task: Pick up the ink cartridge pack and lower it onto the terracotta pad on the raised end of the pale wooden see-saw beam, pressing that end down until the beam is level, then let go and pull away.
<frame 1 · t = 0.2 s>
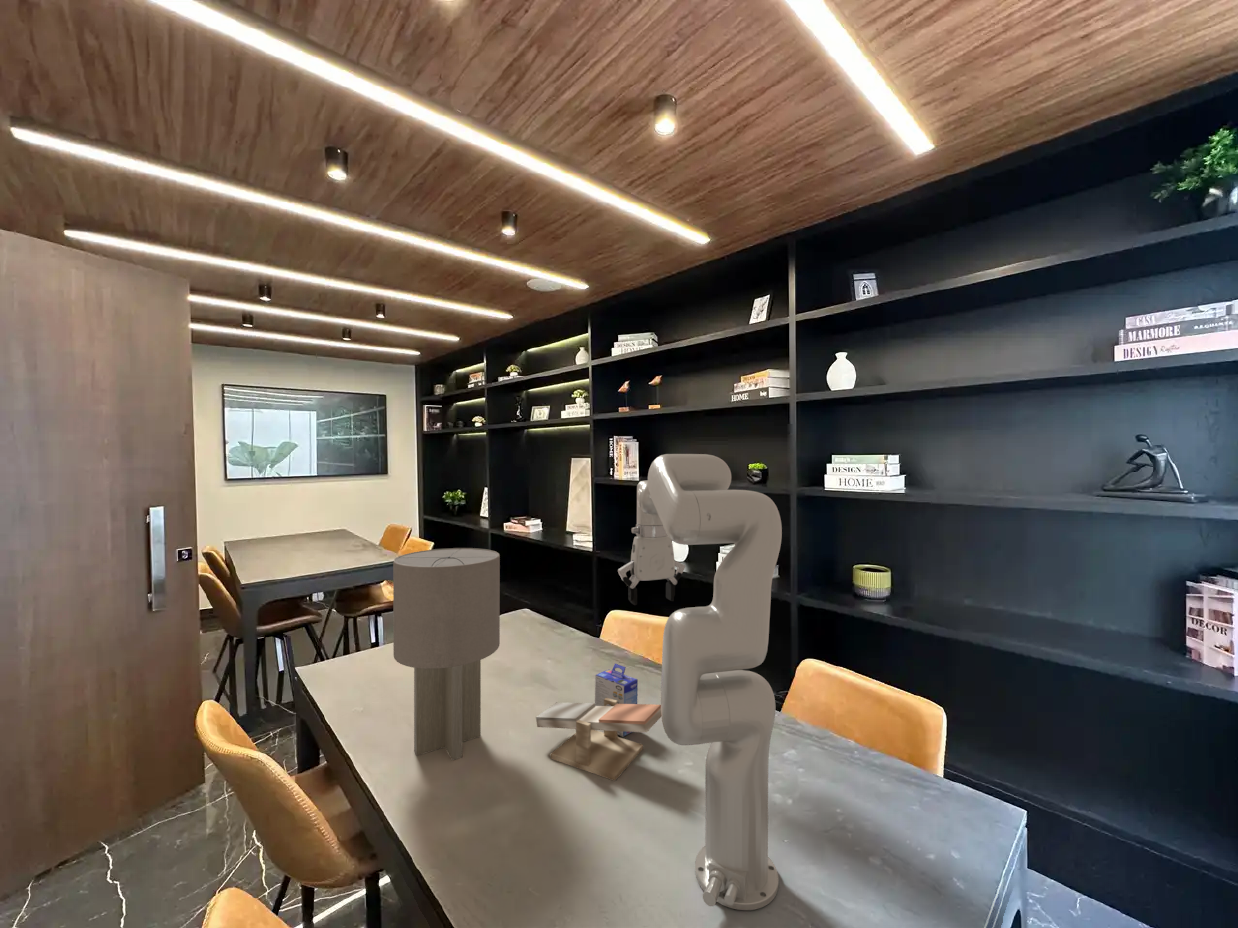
hand: (651, 601, 123), 30 cm above the table, tool pointing down, fingers open, 9 cm apart
beam: (597, 715, 112), point 8 cm above the table, hinge at 12.0°
ink cartridge box: (616, 727, 123), on the table
stand: (597, 753, 112), on the table
lamp: (448, 744, 116), on the table
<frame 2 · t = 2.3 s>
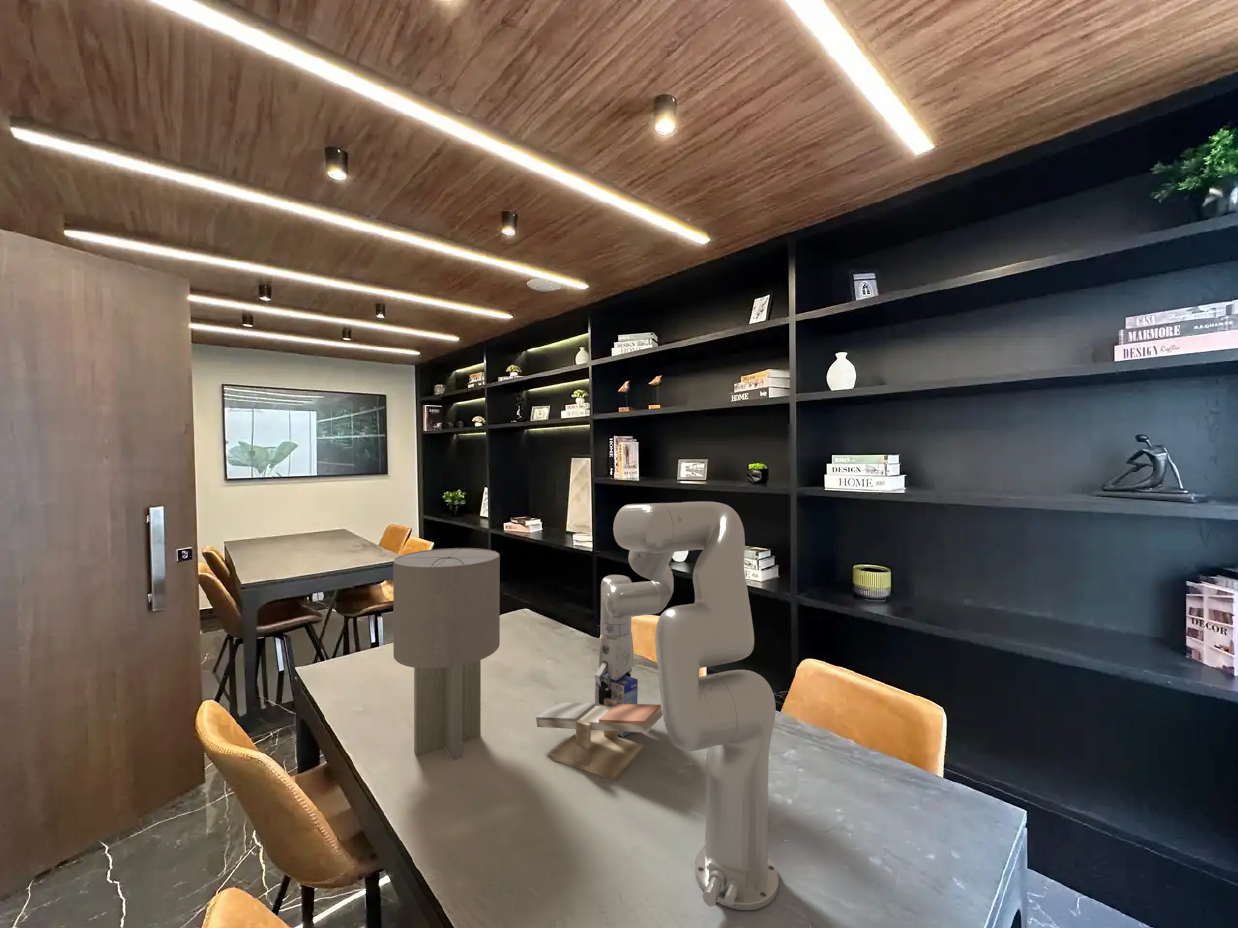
hand: (615, 696, 124), 7 cm above the table, tool pointing down, fingers open, 9 cm apart
nothing on the table moved.
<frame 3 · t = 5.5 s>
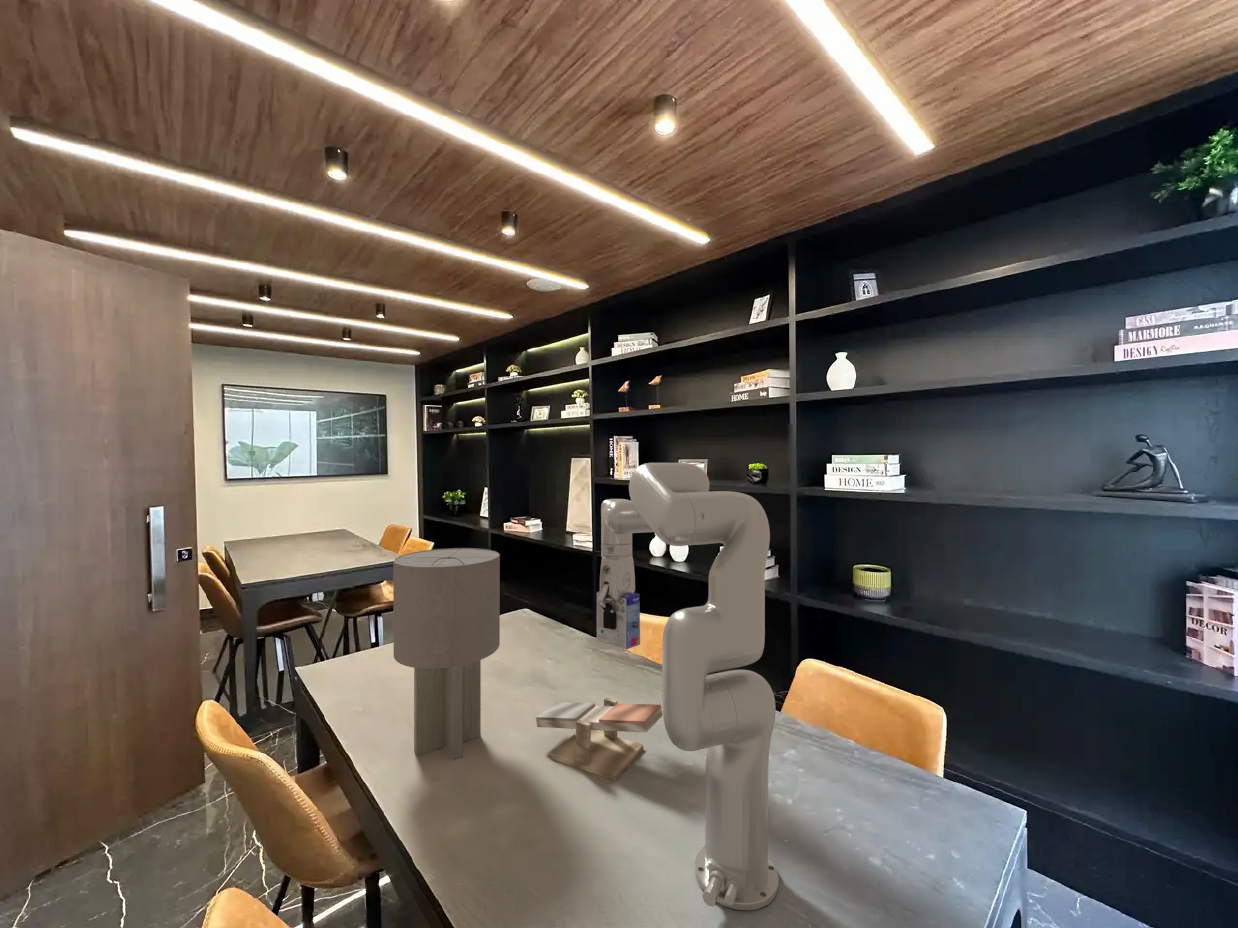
hand: (616, 623, 123), 25 cm above the table, tool pointing down, fingers closed on ink cartridge box, 6 cm apart
ink cartridge box: (618, 643, 122), point 20 cm above the table, touching gripper
everything else where it was.
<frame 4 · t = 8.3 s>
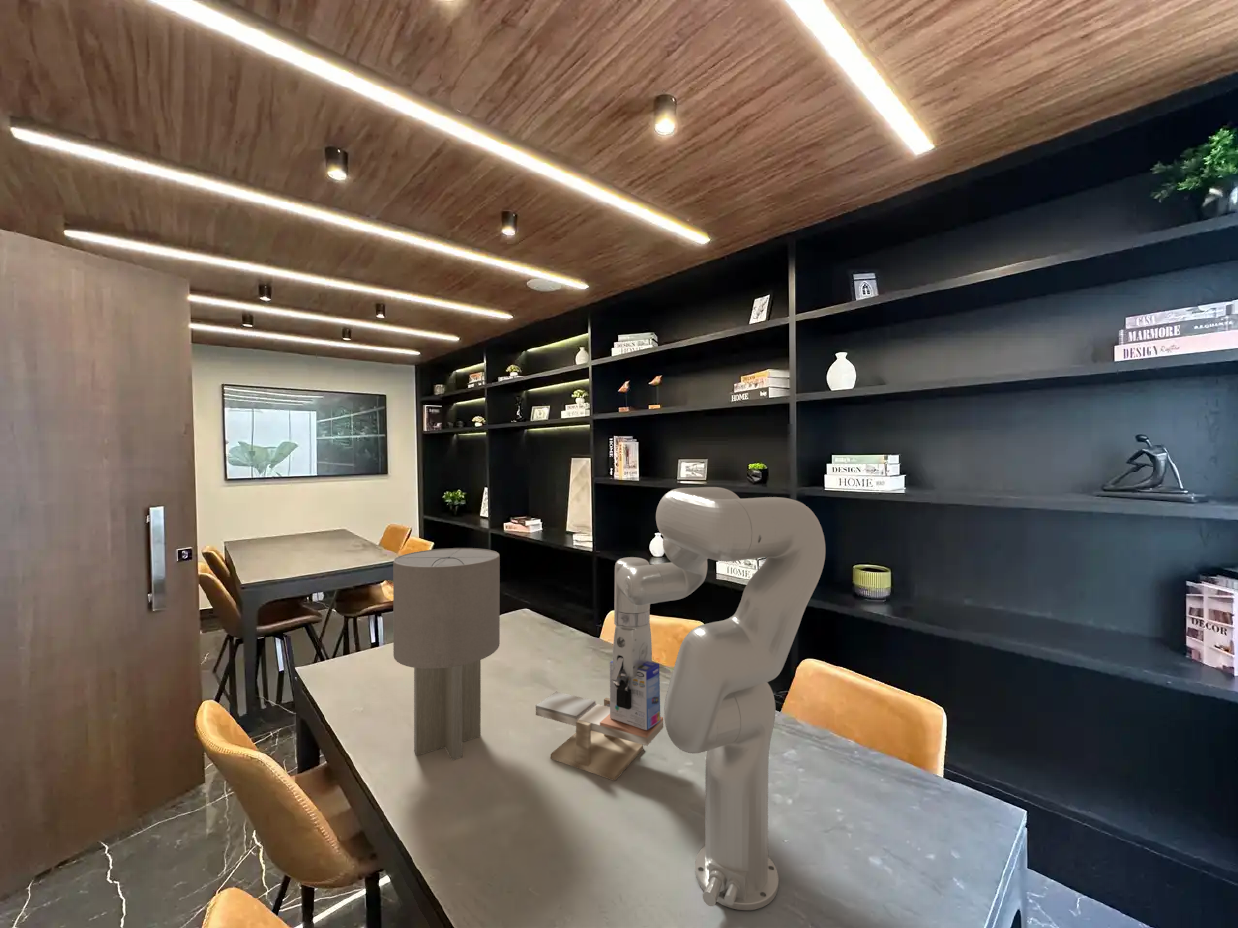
hand: (631, 699, 108), 14 cm above the table, tool pointing down, fingers closed on ink cartridge box, 5 cm apart
beam: (597, 716, 112), point 8 cm above the table, hinge at 1.1°, touching ink cartridge box
ink cartridge box: (635, 720, 108), point 9 cm above the table, touching beam, gripper
everything else where it was.
when the fingers open (14 cm above the table, at t = 8.6 s): ink cartridge box stays where it is, resting on beam.
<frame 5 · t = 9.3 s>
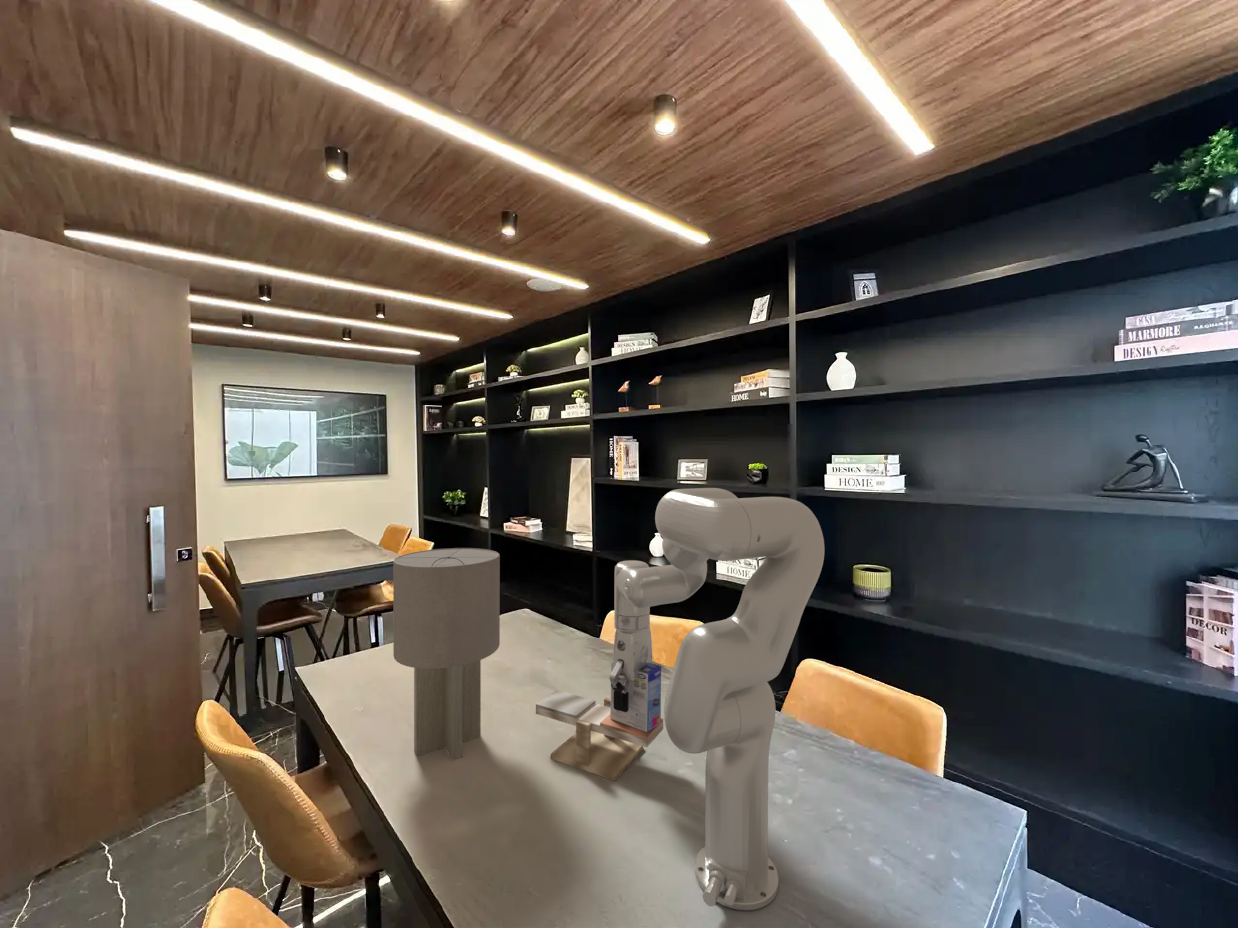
hand: (631, 700, 108), 14 cm above the table, tool pointing down, fingers open, 9 cm apart
beam: (597, 716, 112), point 8 cm above the table, hinge at 0.0°, touching ink cartridge box
ink cartridge box: (635, 722, 108), point 9 cm above the table, touching beam
everything else where it was.
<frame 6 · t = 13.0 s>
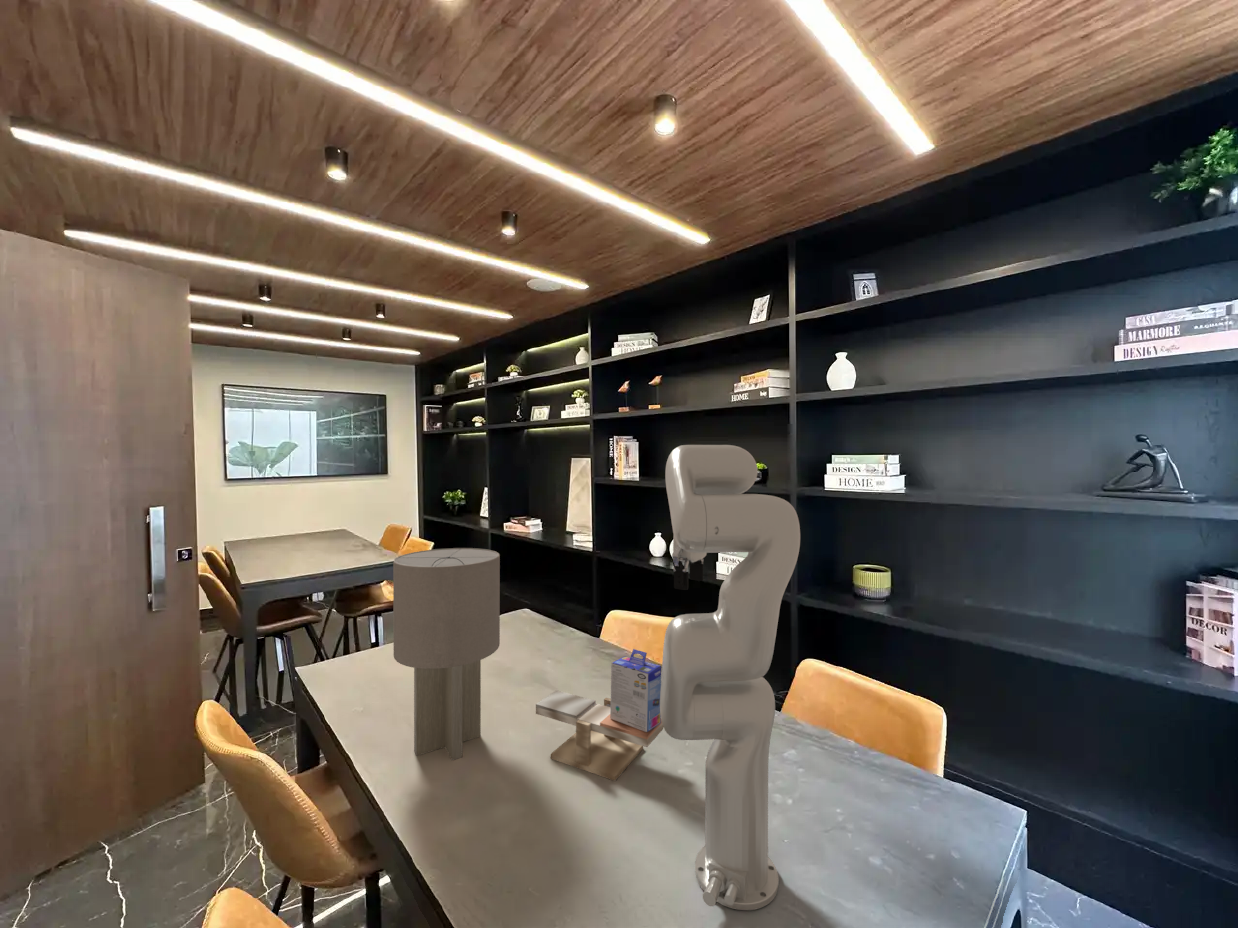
hand: (689, 584, 116), 36 cm above the table, tool pointing down, fingers open, 9 cm apart
nothing on the table moved.
at the end: beam at +0° (first picture: +12°); ink cartridge box 0.8 cm from the target spot on the beam, point 1.2 cm above the beam's base; ink cartridge box tilted 0° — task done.
